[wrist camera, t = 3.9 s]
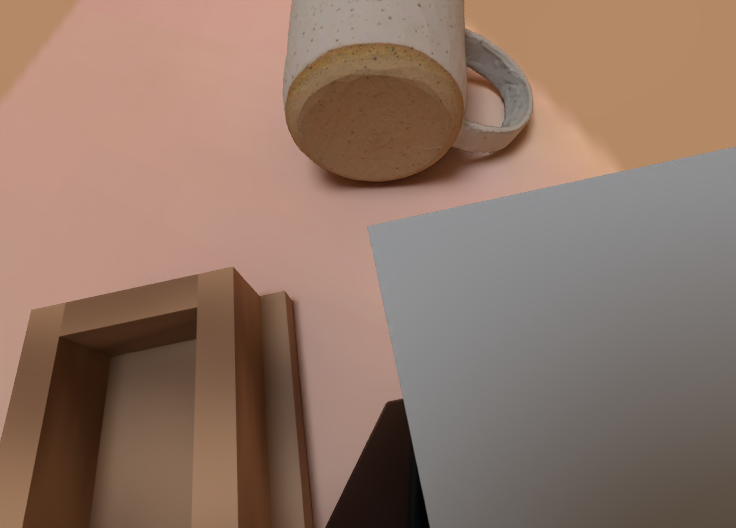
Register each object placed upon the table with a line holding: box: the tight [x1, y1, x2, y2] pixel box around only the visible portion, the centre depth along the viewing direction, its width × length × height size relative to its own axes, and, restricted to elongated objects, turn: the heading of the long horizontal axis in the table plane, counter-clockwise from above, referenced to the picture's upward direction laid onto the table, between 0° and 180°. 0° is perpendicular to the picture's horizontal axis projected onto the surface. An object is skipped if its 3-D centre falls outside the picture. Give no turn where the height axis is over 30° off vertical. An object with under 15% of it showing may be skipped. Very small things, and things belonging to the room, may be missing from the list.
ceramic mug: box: [283, 0, 533, 182], centre depth 17 cm, size 11×8×8 cm
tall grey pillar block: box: [367, 147, 736, 528], centre depth 8 cm, size 4×3×12 cm
